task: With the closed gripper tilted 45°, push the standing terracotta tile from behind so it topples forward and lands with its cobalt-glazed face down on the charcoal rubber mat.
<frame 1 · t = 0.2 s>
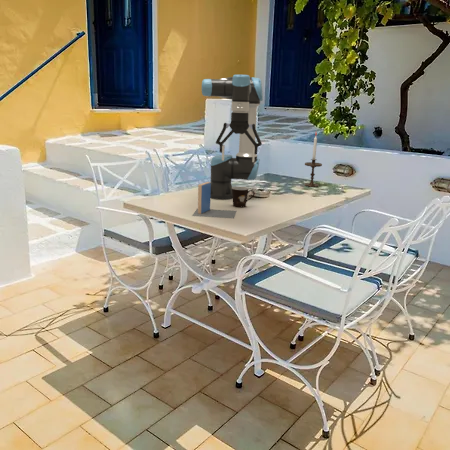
hand: (238, 160, 208), 28 cm above the table, tool pointing down, fingers open, 13 cm apart
coffee mug: (242, 207, 242), on the table
candlestick: (311, 186, 303), on the table
tile: (204, 211, 228), point 1 cm above the table, touching mat
mat: (214, 214, 226), on the table
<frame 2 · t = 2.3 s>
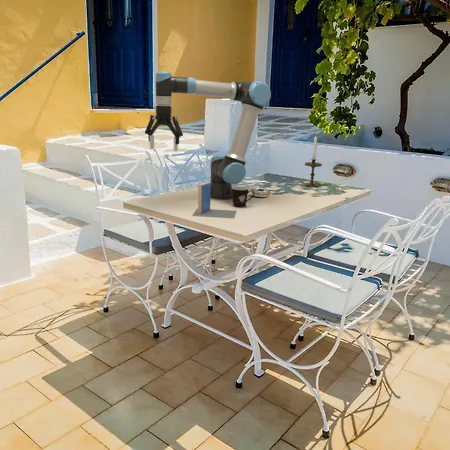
hand: (163, 149, 230), 29 cm above the table, tool pointing down, fingers open, 13 cm apart
nothing on the table moved.
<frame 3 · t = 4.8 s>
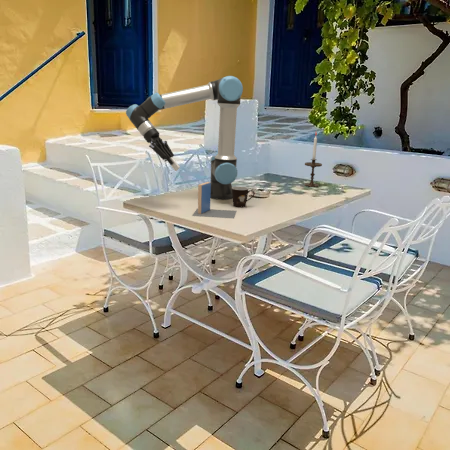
hand: (177, 169, 229), 20 cm above the table, tool tilted 45°, fingers closed
nothing on the table moved.
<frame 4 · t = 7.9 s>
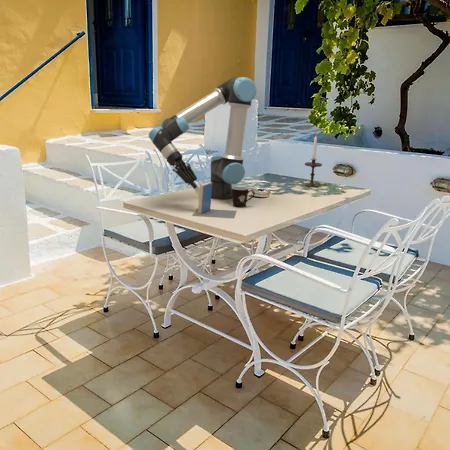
hand: (201, 192, 226), 10 cm above the table, tool tilted 45°, fingers closed
nothing on the table moved.
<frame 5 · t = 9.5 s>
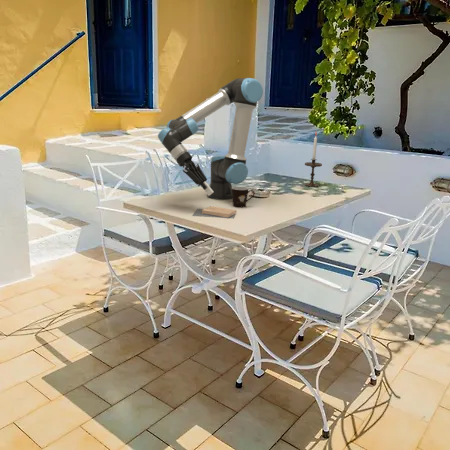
hand: (211, 193, 224), 10 cm above the table, tool tilted 45°, fingers closed
tile: (206, 210, 228), point 2 cm above the table, tilted 90°, touching mat
everything else where it was.
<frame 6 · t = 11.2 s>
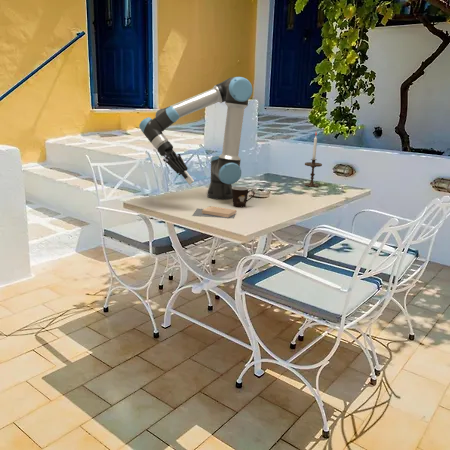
hand: (191, 182, 228), 14 cm above the table, tool tilted 45°, fingers closed
nothing on the table moved.
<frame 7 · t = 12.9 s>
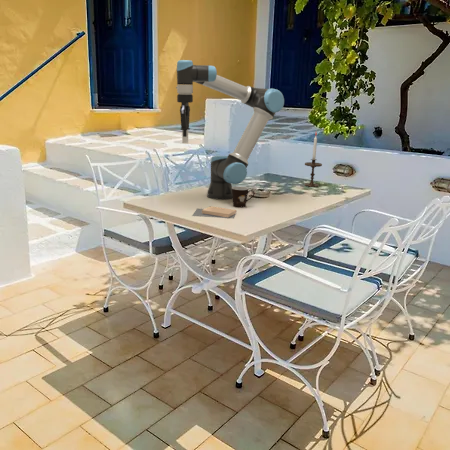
hand: (185, 143, 233), 32 cm above the table, tool pointing down, fingers closed
nothing on the table moved.
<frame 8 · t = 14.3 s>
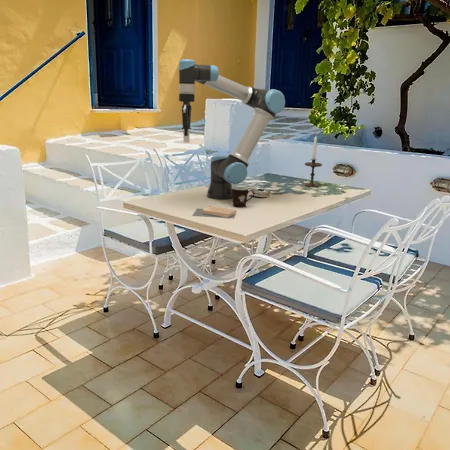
hand: (186, 142, 233), 32 cm above the table, tool pointing down, fingers closed
nothing on the table moved.
at the end: tile tilted 90°; tile touching mat; tile moved 1.5 cm from its start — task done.
